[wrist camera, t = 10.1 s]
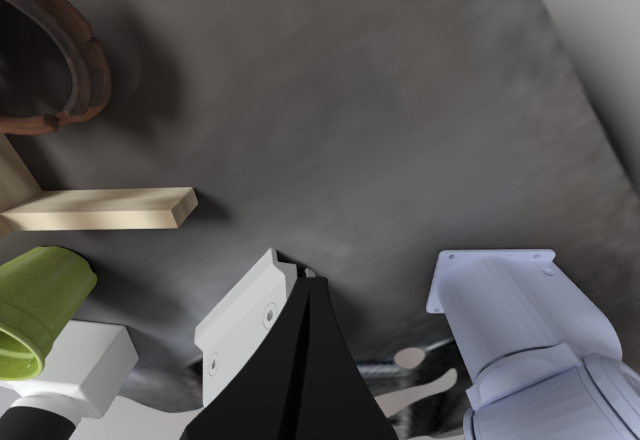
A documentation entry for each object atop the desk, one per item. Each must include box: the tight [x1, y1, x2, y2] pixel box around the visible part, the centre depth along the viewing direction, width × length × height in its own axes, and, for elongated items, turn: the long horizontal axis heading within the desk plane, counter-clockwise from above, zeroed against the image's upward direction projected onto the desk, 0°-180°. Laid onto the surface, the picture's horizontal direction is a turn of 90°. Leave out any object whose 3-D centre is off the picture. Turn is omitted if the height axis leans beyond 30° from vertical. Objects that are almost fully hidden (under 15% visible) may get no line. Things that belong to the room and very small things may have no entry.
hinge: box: [195, 248, 315, 408], centre depth 26 cm, size 17×5×10 cm, turn 141°
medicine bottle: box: [0, 319, 139, 440], centre depth 29 cm, size 7×7×12 cm
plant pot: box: [0, 246, 97, 381], centre depth 24 cm, size 9×9×9 cm
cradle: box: [0, 132, 198, 238], centre depth 16 cm, size 14×18×5 cm
